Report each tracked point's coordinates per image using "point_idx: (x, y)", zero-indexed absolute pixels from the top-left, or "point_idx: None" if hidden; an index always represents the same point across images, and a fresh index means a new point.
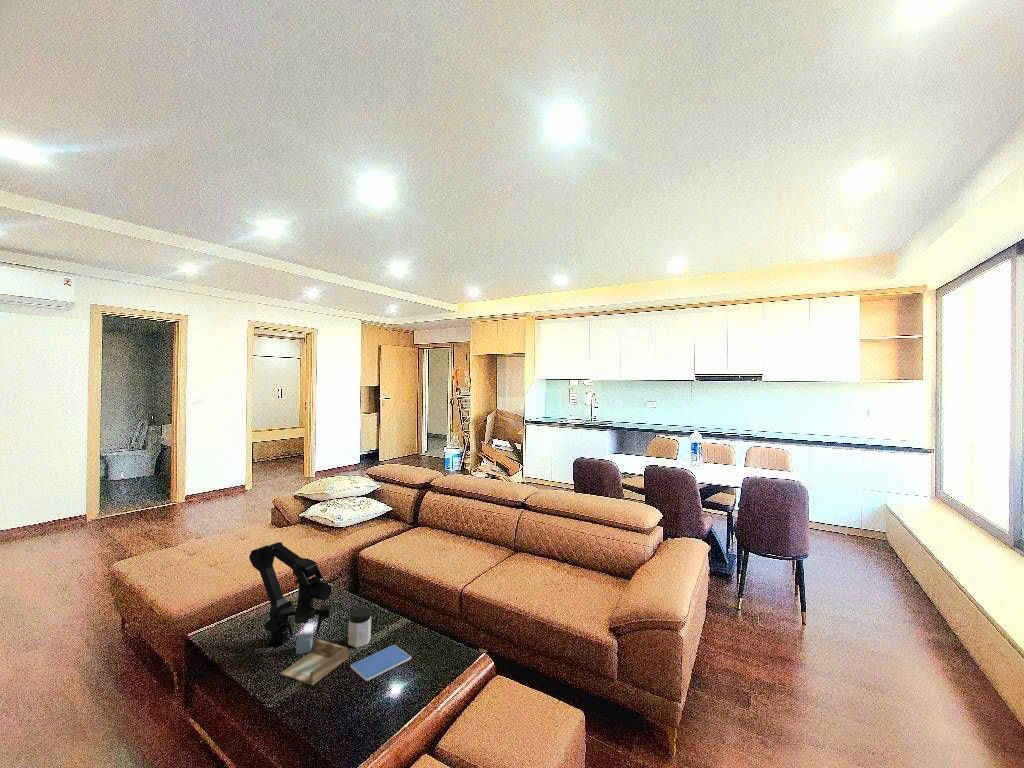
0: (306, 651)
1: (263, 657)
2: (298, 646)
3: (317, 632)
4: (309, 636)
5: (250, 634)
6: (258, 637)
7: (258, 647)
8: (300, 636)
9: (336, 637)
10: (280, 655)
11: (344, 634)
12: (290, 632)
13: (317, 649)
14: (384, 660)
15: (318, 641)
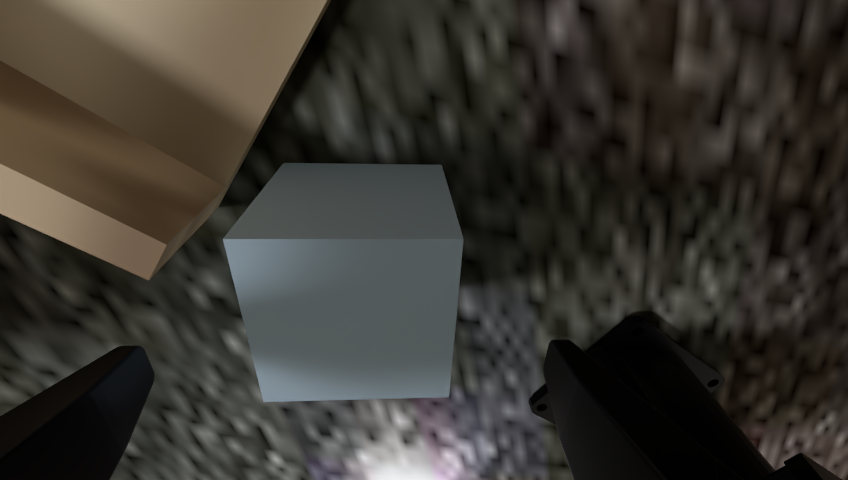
0: (320, 170)
1: (771, 173)
2: (419, 199)
3: (89, 366)
4: (279, 333)
5: None
6: None
7: (775, 337)
8: (422, 353)
9: None
10: (604, 173)
11: None
12: (619, 397)
13: (172, 164)
14: None
15: (82, 204)
